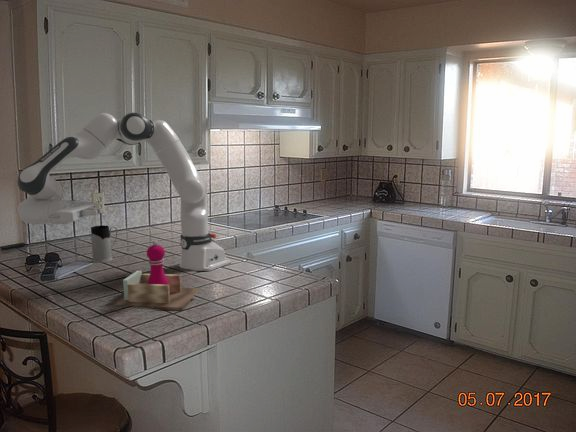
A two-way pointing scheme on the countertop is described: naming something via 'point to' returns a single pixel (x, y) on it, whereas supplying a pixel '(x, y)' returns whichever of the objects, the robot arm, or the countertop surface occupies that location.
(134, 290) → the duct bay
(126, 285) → the gate
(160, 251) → the pepper mill
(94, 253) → the grey black mug
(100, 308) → the countertop surface
